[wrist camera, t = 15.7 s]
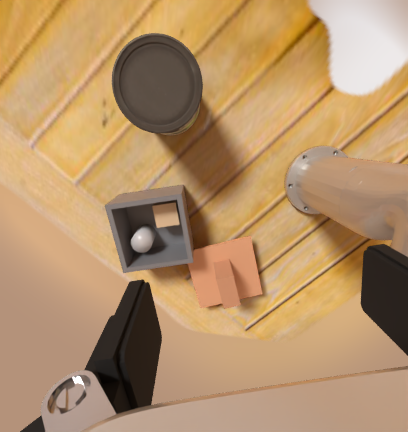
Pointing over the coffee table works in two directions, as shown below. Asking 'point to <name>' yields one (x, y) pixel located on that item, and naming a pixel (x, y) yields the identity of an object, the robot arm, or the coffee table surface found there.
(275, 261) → the coffee table surface
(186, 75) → the coffee can
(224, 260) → the lid
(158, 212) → the storage box
